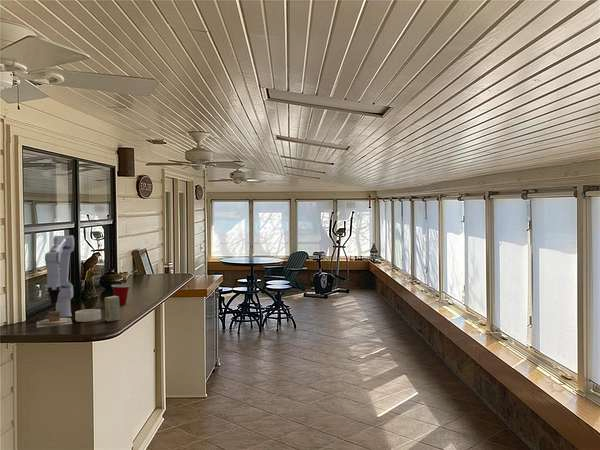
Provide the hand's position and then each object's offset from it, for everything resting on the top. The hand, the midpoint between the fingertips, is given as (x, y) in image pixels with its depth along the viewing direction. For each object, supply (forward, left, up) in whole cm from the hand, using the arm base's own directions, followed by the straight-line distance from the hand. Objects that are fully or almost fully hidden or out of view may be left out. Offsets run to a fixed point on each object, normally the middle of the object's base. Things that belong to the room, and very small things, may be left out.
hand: (53, 302), depth 266 cm
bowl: (0, +16, -11) cm, 19 cm away
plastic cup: (-40, +38, -11) cm, 56 cm away
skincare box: (+8, +27, -11) cm, 30 cm away
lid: (0, 0, -10) cm, 10 cm away
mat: (0, 0, -11) cm, 11 cm away
